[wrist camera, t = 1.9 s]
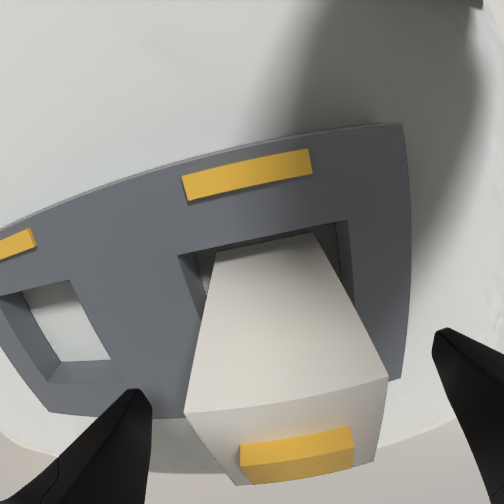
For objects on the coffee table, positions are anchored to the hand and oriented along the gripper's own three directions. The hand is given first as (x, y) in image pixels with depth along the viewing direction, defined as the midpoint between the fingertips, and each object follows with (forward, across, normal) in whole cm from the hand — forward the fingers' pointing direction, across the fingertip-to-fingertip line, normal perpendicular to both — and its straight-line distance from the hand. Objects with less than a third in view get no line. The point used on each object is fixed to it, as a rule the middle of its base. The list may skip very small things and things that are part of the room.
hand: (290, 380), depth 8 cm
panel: (+6, +6, 0) cm, 8 cm away
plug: (+6, 0, 0) cm, 6 cm away
